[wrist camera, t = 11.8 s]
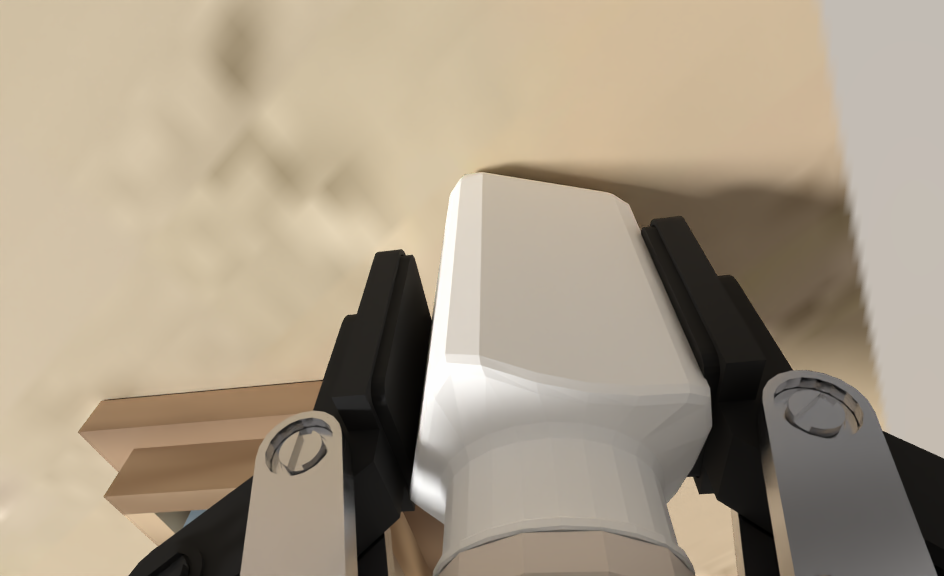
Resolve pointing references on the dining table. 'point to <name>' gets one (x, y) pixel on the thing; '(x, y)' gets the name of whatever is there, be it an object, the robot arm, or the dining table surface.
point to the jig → (215, 459)
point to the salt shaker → (554, 389)
